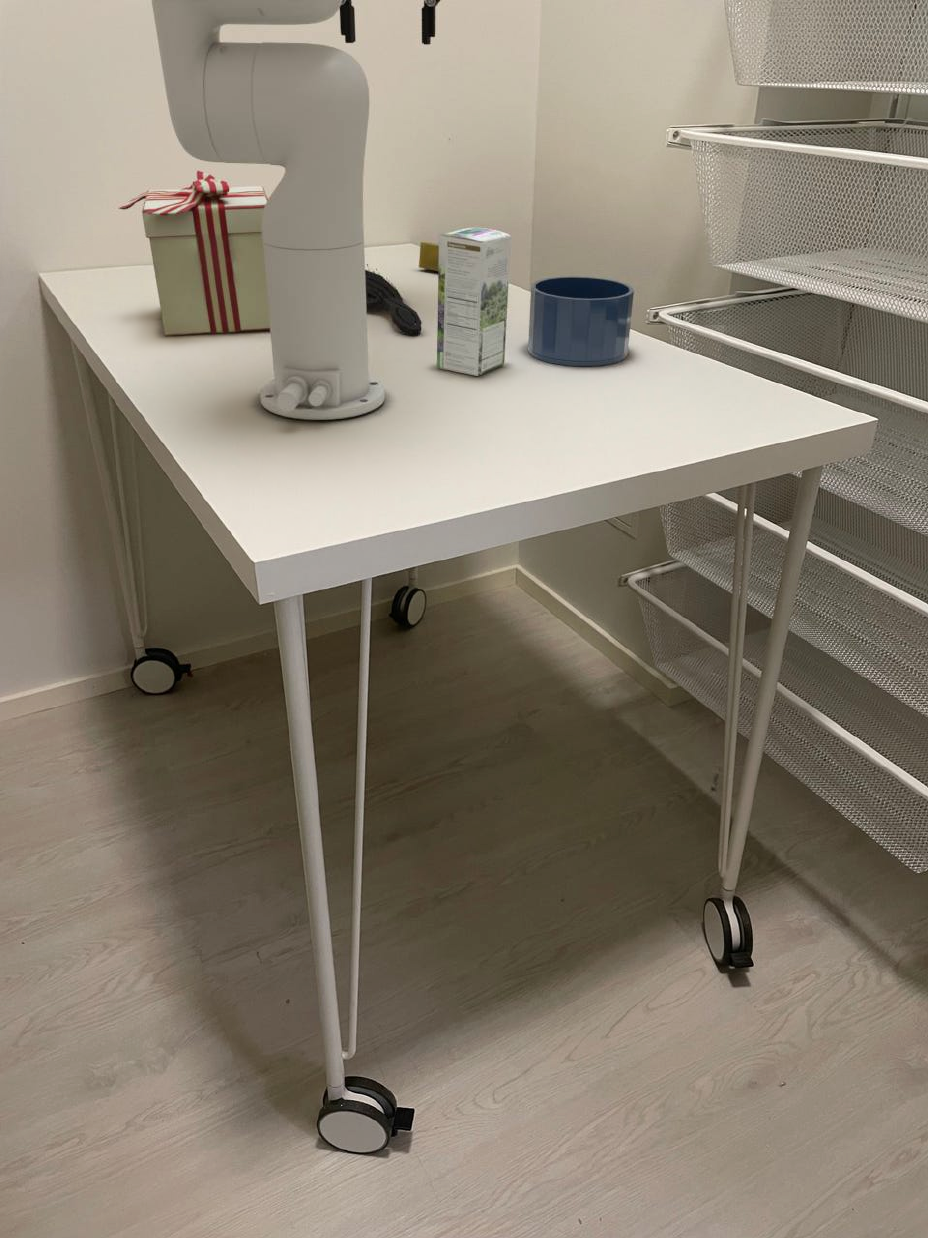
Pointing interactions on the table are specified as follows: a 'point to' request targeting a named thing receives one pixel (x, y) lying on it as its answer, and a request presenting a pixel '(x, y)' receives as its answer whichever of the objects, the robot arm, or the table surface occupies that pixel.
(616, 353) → the crock
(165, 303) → the gift box
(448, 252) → the syrup box
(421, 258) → the medication box
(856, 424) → the table surface
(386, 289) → the hairbrush
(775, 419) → the table surface
